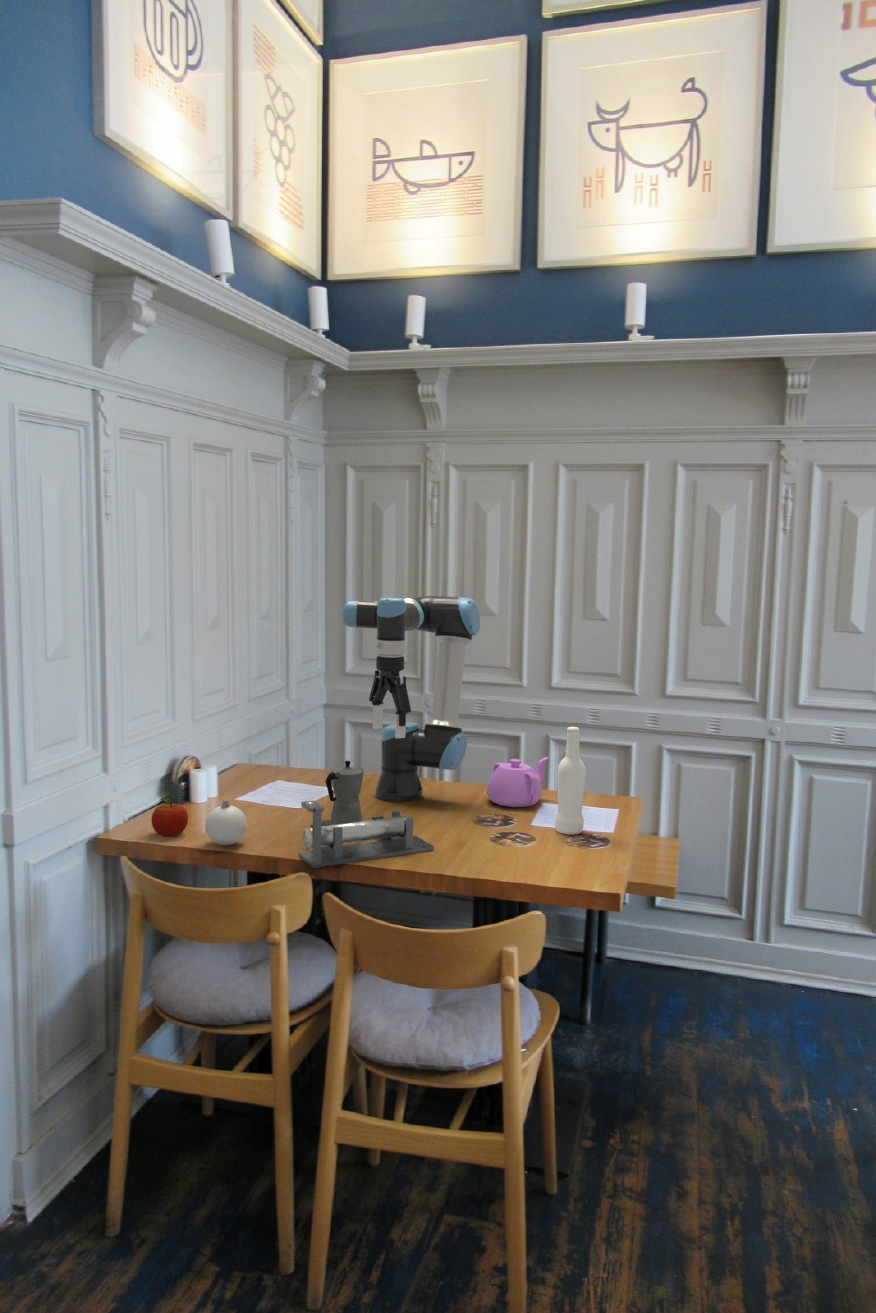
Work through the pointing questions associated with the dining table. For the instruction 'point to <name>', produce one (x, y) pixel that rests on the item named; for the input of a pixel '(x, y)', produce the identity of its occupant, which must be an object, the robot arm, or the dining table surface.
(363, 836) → the tube
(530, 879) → the dining table surface
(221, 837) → the ornament
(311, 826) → the rest chocks
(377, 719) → the robot arm
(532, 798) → the teapot
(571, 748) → the bottle
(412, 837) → the grey tube stand
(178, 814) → the fruit
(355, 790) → the coffeepot
